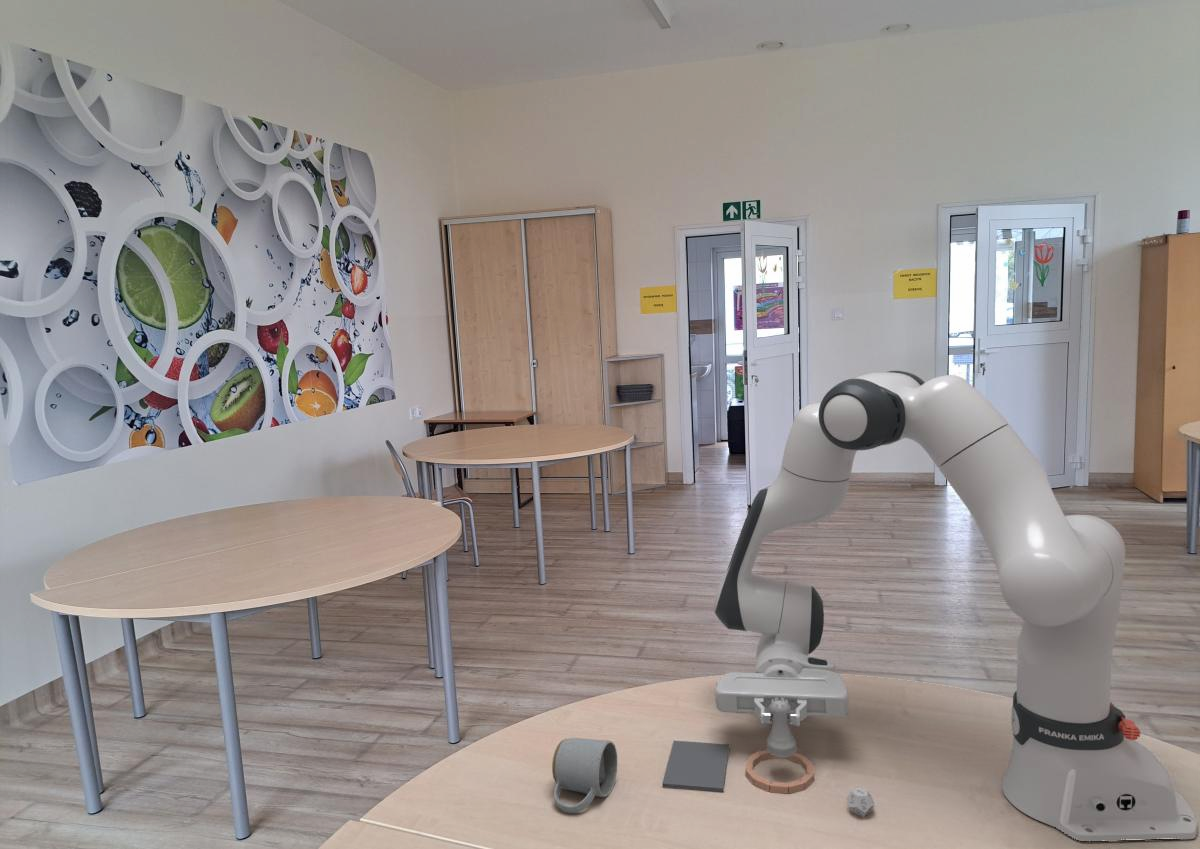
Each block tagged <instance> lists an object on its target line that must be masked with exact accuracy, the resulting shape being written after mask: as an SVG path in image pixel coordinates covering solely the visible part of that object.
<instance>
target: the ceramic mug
mask: <svg viewBox="0 0 1200 849" xmlns="http://www.w3.org/2000/svg"><path fill="white" fill-rule="evenodd" d="M617 752H618V750H617V748H616V745H615V744H614V742H613V741H612V740H608V739H607V740H606V739H594V738H593V739H592V738H580V737H570V738H569V737H568V738H565V739H563V740H561V741H560V742H559V743H558V744H557V746H556V748H555V751H554V754H553V758H552V762H551V763H552V764H551V765H552V766H551V770H552V778H553V781H554V782H555V786H554V790H553V793H554V794H553V799H554V801H555V803H556V806H557V808H559V809H560V810H561V811H562V812H564V813H567V814H578V813H581V812H583V811H584V810H586V809H587V808H588V807H589V806H590V805H591V803H592V802H593V800H594V798H595V797H598V798H599V797H600V798H607V796H609V795H610V794H611V793H612V790H613V789H614V785H615V783H616V779H617V774H618V754H617ZM562 789H565V790H568V791H573V792H577V793H582V794H585V795H586V794H587V795H586V796H585V797H584V798H583V799H582V800H581V801H580V802H578V803H576V804H574V805H566V804H565V802H563V801H561V800H560V793H561V790H562Z"/></svg>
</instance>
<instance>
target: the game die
mask: <svg viewBox="0 0 1200 849" xmlns="http://www.w3.org/2000/svg"><path fill="white" fill-rule="evenodd" d="M846 801H847V805H848V808H849V810H851V813H852V814H854V815H857V816H860V817H862V818H863V817H866V816H867V815H868V814H870V813H871V812H872V810H873V809H874V807H875V803H874V800H873V796H872V794H870V792H869V791H868V789H865V788H862V787H860V786H857V787H856V788H854V789H852V790H851V791H850V792H849V794H848V795H847V797H846Z"/></svg>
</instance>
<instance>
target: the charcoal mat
mask: <svg viewBox="0 0 1200 849" xmlns="http://www.w3.org/2000/svg"><path fill="white" fill-rule="evenodd" d="M729 752H730V744H727V743H714V742H703V741H702V742H700V741H697V742H696V741H688V740H687V741H685V740H673V743H672V744H671V750H670V754H669V756H668V757H669V758H668V761H667V763H666V768H665V772H664V777H663V778H662V779H663V780H662V783H661V784H662V788H669V789H679V790H680V789H681V790H691V791H704V792H715V793H716V792H717V793H724V789H725V783H726V776H727V768H728V760H729Z"/></svg>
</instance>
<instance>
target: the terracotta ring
mask: <svg viewBox="0 0 1200 849" xmlns="http://www.w3.org/2000/svg"><path fill="white" fill-rule="evenodd" d="M770 759H778V758H777V757H774V756H772V755H771V754H770V753H769V752H768V750H767V749H764V750H759V751H756V752H754V753H753V754H751V756H749V757H748V758H746V762H745V776H746V777H747V779H748V780H749V782H750V783H751V784H752V785H753V786H755V787H757V788H759V789H762V790H763V791H767V792H770V793H776V794H777V793H779V794H792V793H796V792H801V791H804V790H806V789H807V788H808V787H810V785H811V784H813V783H814V781H815V771H814V770H815V769H814V766H815V765H814V763H813V762H811V761H810V760H809V759H808V757H807V756H805V755H804V754H801V753H799V752H797V751H796V752H795V754H794V755H793V756H791V757H790V758H780V760H781V759H784V760H789V761H792V762H793V763H797V764H799V765H800V766H801V767H802V768H803V769H804V770H805V771H806V773H805V774H804V775H803V776H802V777H801V778H800V779H796V780H793V781H789V782H779V781H778V782H777V781H771V780H768V779H766V778H763V777H761V776H759V774H757V772H756V771H755V770H754V767H756V765H758V764H759V763H760V762H761V761H766V760H770Z"/></svg>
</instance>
